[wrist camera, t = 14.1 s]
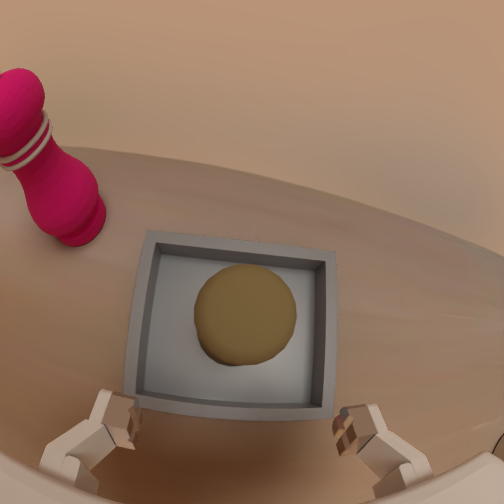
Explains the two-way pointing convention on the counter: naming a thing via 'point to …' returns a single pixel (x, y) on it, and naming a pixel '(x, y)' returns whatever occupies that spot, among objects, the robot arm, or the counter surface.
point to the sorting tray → (195, 359)
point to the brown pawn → (244, 315)
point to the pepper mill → (46, 164)
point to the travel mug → (500, 449)
